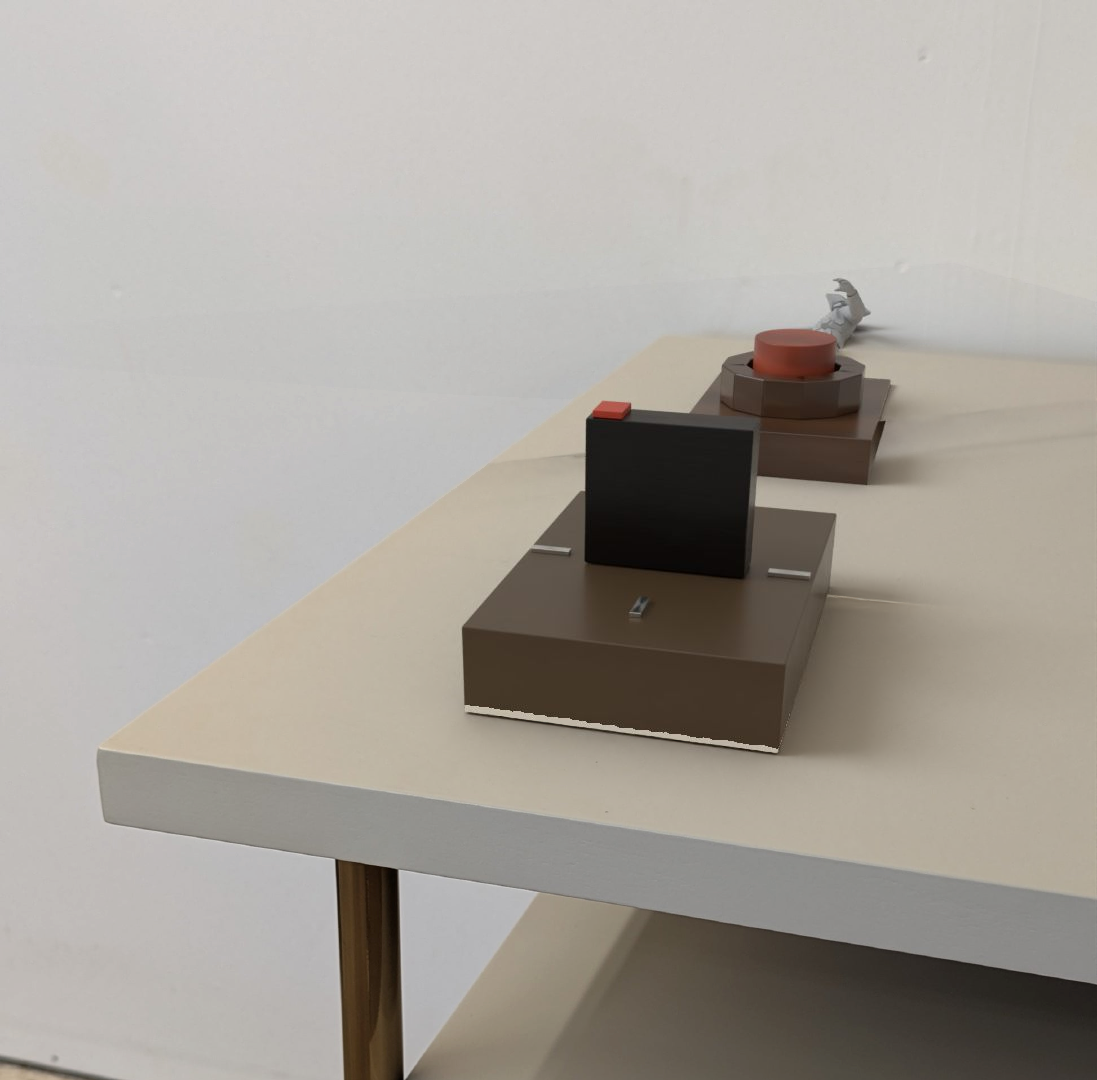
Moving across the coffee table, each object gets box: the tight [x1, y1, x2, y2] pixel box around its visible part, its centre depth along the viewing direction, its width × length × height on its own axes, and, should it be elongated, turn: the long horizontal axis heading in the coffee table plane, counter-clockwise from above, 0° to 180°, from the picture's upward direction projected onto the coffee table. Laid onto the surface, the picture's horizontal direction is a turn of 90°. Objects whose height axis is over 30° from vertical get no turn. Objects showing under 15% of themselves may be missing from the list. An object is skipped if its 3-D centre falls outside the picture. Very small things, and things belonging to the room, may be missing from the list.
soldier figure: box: [812, 277, 872, 353], centre depth 83 cm, size 8×5×12 cm
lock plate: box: [461, 490, 837, 749], centre depth 48 cm, size 14×10×3 cm
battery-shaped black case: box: [584, 400, 761, 578], centre depth 47 cm, size 6×2×5 cm, turn 74°
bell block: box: [689, 350, 892, 486], centre depth 70 cm, size 12×9×4 cm
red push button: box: [753, 328, 837, 376], centre depth 69 cm, size 4×4×2 cm
